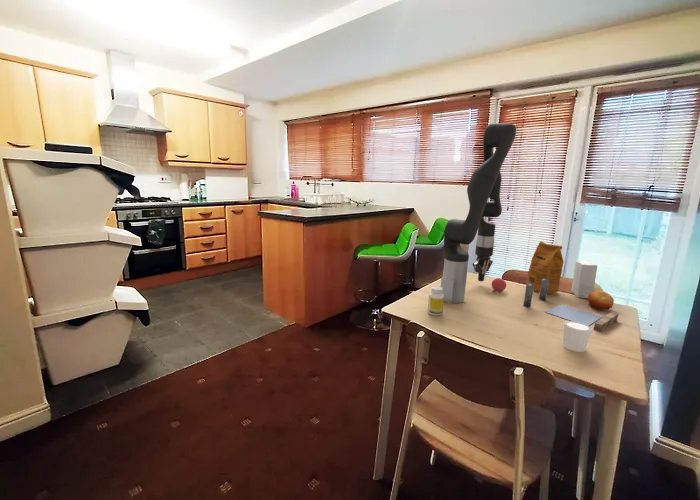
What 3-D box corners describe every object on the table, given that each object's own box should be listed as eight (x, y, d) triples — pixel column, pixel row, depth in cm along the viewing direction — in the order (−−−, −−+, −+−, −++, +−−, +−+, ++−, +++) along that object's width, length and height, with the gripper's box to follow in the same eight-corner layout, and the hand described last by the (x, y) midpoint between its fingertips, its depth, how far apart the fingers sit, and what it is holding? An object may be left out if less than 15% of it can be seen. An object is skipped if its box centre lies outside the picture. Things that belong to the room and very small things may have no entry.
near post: (528, 307, 126) (532, 286, 124) (521, 305, 128) (525, 284, 126) (531, 306, 128) (535, 285, 126) (525, 304, 130) (528, 283, 128)
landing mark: (587, 326, 111) (587, 326, 111) (544, 312, 122) (545, 311, 122) (602, 317, 119) (602, 316, 119) (561, 304, 130) (561, 304, 130)
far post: (544, 301, 134) (547, 280, 132) (537, 299, 136) (540, 278, 134) (547, 299, 135) (550, 279, 133) (540, 297, 137) (543, 277, 135)
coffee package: (539, 284, 154) (546, 240, 149) (561, 293, 143) (570, 245, 138) (522, 286, 152) (528, 240, 147) (543, 295, 140) (551, 246, 135)
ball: (500, 294, 140) (502, 281, 139) (488, 290, 145) (489, 277, 144) (508, 291, 144) (509, 279, 142) (495, 288, 148) (497, 275, 147)
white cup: (555, 341, 100) (558, 320, 99) (575, 341, 101) (579, 320, 99) (571, 353, 94) (575, 331, 92) (593, 352, 94) (598, 330, 93)
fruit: (600, 299, 132) (610, 287, 127) (609, 316, 127) (620, 303, 121) (579, 298, 133) (588, 286, 128) (587, 314, 128) (598, 302, 122)
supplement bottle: (445, 315, 118) (447, 290, 116) (431, 316, 117) (433, 290, 115) (438, 309, 123) (440, 285, 121) (425, 310, 122) (427, 285, 120)
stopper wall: (600, 331, 107) (602, 324, 107) (593, 329, 109) (594, 322, 108) (616, 320, 117) (618, 314, 116) (609, 318, 118) (611, 312, 118)
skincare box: (592, 299, 137) (599, 265, 134) (576, 297, 139) (582, 264, 135) (585, 292, 145) (591, 261, 141) (569, 291, 146) (575, 259, 143)
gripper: (483, 248, 141) (479, 285, 145) (500, 244, 148) (496, 280, 152) (468, 245, 147) (465, 281, 151) (485, 242, 154) (482, 276, 158)
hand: (480, 280), depth 151 cm, fingers closed
